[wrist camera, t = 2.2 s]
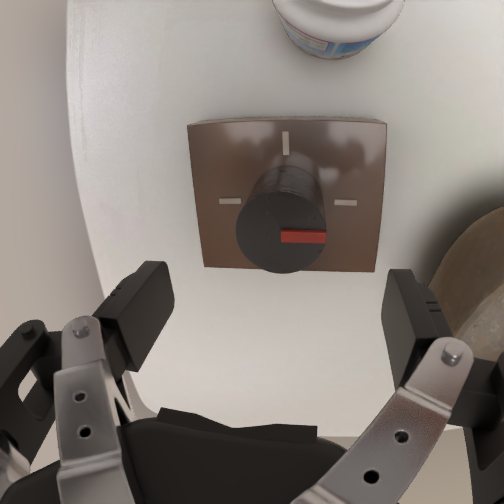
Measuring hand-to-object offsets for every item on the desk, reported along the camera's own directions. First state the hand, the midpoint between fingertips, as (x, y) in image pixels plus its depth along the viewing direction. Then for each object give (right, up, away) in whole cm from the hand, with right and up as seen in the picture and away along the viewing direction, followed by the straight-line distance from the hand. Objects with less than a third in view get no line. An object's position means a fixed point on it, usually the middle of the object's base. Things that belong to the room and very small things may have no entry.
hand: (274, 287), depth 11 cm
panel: (+2, +6, +11) cm, 13 cm away
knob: (+1, +4, +8) cm, 10 cm away
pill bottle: (+4, +16, +5) cm, 18 cm away
